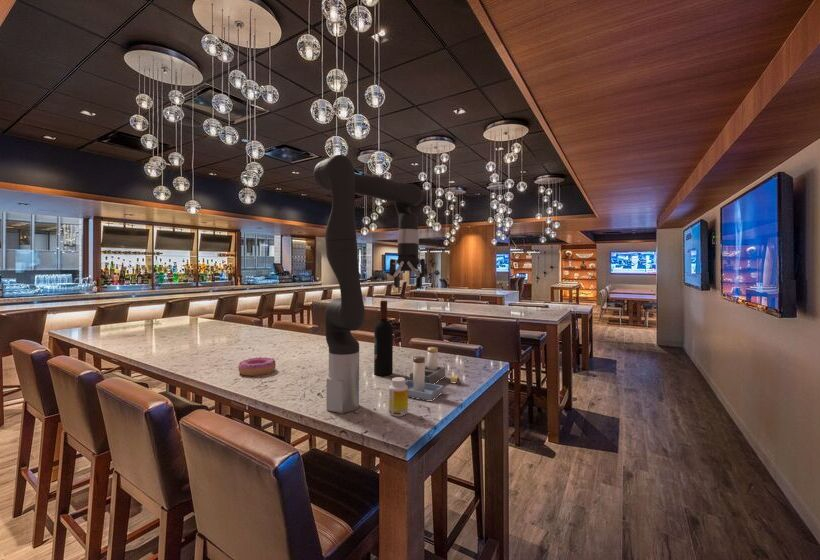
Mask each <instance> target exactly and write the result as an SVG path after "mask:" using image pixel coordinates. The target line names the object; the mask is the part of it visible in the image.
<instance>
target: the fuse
mask: <svg viewBox="0 0 820 560" xmlns="http://www.w3.org/2000/svg"><path fill="white" fill-rule="evenodd" d="M438 350H439V348H438V347H435V346H429V347H427V359H426V360H427V361H426V363H427V364H426V365H427V370H434V371H437V370H438V367H439V363H438V362H439V358H438V357H439V353H438V352H439V351H438Z"/></svg>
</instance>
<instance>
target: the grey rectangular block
mask: <svg viewBox="0 0 820 560" xmlns="http://www.w3.org/2000/svg"><path fill="white" fill-rule="evenodd" d="M444 376H445V377H446V367H443V366H438V370H437V371H434V370H427V364H425V383H430V384H434V383H436V382H437V381H438V380H440V379H441V378H443V377H444ZM409 380H412V381H413V372H411V373H409ZM436 384H437V383H436Z"/></svg>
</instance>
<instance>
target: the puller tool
mask: <svg viewBox="0 0 820 560" xmlns="http://www.w3.org/2000/svg"><path fill="white" fill-rule="evenodd" d="M451 382H457V383H458V375H457V374H455V375H453V374H451V375H450V383H451Z"/></svg>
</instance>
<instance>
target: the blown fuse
mask: <svg viewBox="0 0 820 560" xmlns="http://www.w3.org/2000/svg"><path fill="white" fill-rule="evenodd" d="M412 363H413V364H412V373H413V390H415V391H420V392H425V366H426V357H425V356H421V355H417V356H413V358H412Z"/></svg>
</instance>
